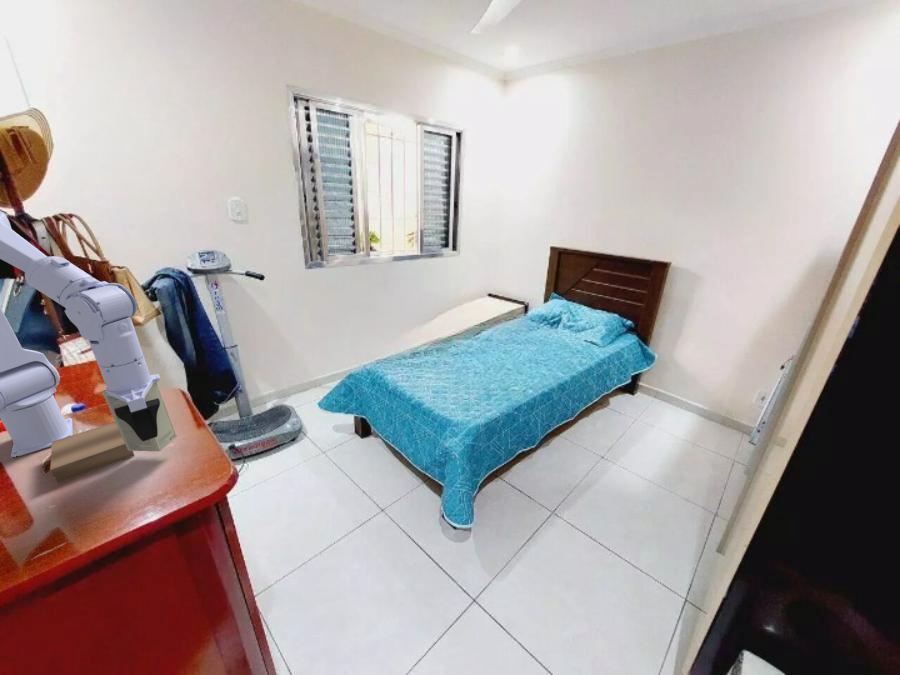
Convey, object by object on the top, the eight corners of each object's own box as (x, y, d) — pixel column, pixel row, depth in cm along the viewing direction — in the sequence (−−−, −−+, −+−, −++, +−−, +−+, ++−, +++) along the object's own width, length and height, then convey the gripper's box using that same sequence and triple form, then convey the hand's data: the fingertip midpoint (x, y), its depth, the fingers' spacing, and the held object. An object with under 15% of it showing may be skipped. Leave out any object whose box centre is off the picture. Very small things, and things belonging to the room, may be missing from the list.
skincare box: (177, 437, 68) (159, 380, 63) (159, 453, 64) (137, 393, 59) (145, 436, 68) (124, 379, 63) (124, 451, 64) (100, 391, 59)
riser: (58, 454, 67) (51, 441, 66) (128, 431, 73) (123, 419, 72) (57, 484, 60) (50, 469, 59) (134, 455, 67) (129, 442, 66)
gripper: (159, 366, 57) (181, 436, 62) (145, 340, 67) (166, 403, 72) (98, 381, 53) (129, 456, 58) (93, 351, 62) (120, 417, 67)
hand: (146, 428), depth 64 cm, fingers closed on skincare box, 7 cm apart
